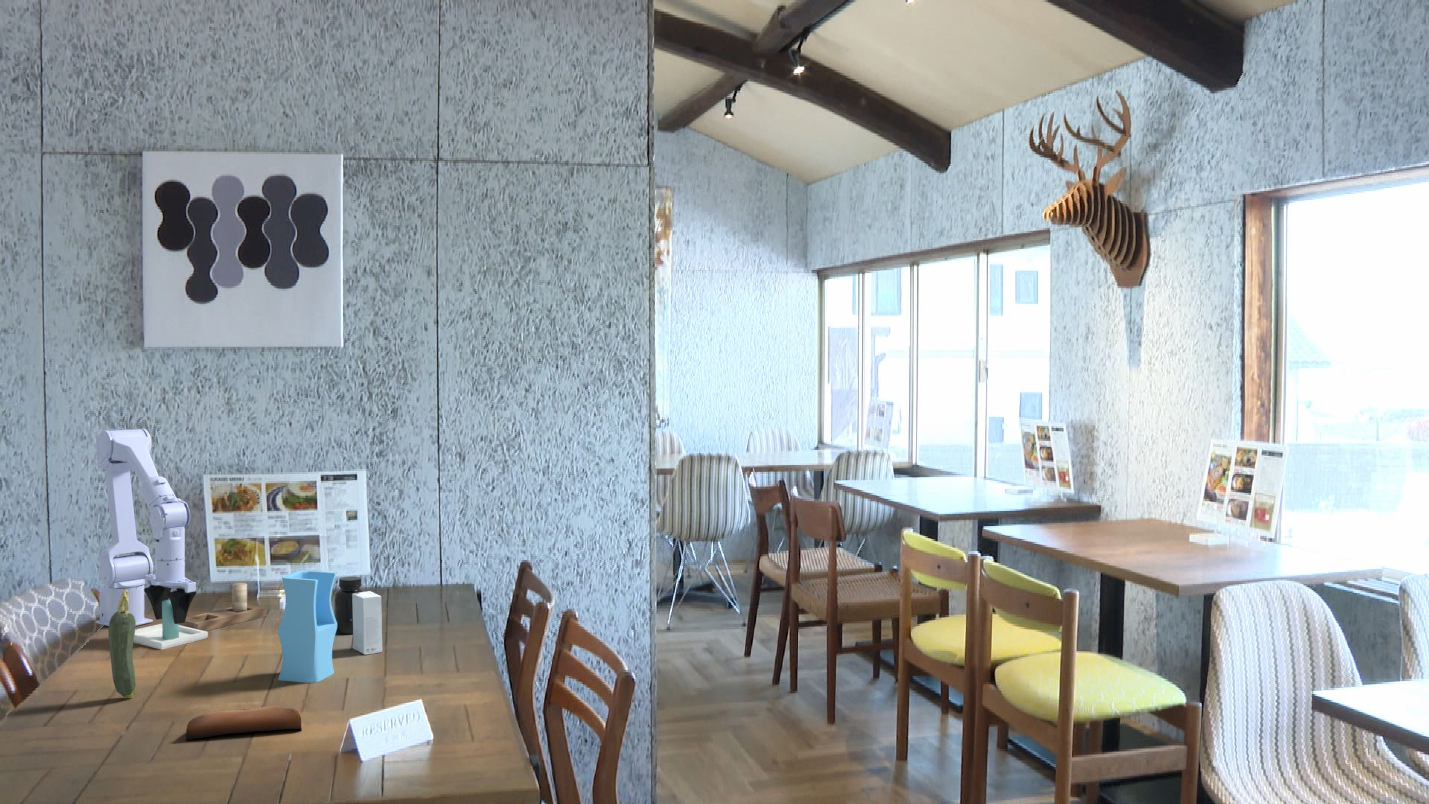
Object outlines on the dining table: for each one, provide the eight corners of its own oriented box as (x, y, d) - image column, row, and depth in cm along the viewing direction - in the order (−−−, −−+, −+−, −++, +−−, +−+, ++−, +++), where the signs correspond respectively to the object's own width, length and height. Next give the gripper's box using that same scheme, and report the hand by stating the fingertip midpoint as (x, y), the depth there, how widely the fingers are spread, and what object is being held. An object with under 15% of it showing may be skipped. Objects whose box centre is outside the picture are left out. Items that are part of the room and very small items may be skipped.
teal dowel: (159, 638, 244) (158, 601, 244) (172, 634, 247) (171, 598, 246) (169, 640, 243) (168, 603, 242) (182, 637, 246) (181, 600, 245)
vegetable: (124, 704, 203) (123, 593, 202) (103, 702, 204) (102, 592, 203) (141, 696, 208) (140, 588, 206) (120, 694, 208) (120, 586, 207)
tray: (120, 639, 244) (120, 633, 244) (167, 628, 254) (167, 622, 254) (161, 649, 238) (161, 643, 237) (207, 638, 247) (207, 631, 247)
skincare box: (383, 652, 240) (383, 595, 239) (362, 655, 237) (363, 598, 236) (371, 645, 245) (372, 590, 244) (351, 649, 242) (351, 592, 241)
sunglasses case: (302, 714, 200) (302, 688, 196) (302, 747, 194) (301, 720, 191) (189, 724, 194) (187, 698, 190) (186, 758, 188) (184, 731, 185)
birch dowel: (229, 618, 264) (229, 584, 263) (240, 615, 267) (240, 582, 266) (238, 620, 262) (238, 586, 262) (249, 617, 265) (250, 583, 265)
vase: (315, 683, 218) (315, 580, 216) (278, 680, 219) (278, 577, 218) (336, 672, 225) (337, 572, 224) (300, 668, 227) (301, 569, 226)
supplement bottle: (359, 635, 252) (359, 582, 252) (329, 634, 253) (329, 581, 252) (369, 627, 259) (369, 575, 259) (339, 626, 259) (340, 574, 259)
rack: (197, 632, 251) (197, 623, 251) (177, 628, 255) (177, 619, 254) (265, 616, 267) (265, 607, 267) (246, 612, 270) (246, 603, 270)
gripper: (131, 557, 244) (132, 619, 245) (174, 565, 237) (174, 629, 237) (161, 552, 250) (162, 613, 251) (204, 560, 243) (204, 622, 244)
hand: (170, 620), depth 245 cm, fingers open, 6 cm apart
